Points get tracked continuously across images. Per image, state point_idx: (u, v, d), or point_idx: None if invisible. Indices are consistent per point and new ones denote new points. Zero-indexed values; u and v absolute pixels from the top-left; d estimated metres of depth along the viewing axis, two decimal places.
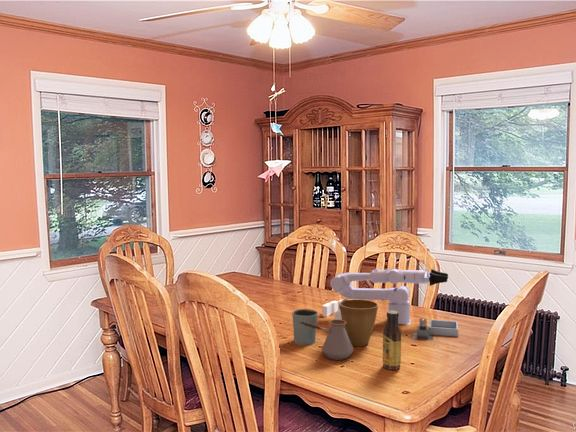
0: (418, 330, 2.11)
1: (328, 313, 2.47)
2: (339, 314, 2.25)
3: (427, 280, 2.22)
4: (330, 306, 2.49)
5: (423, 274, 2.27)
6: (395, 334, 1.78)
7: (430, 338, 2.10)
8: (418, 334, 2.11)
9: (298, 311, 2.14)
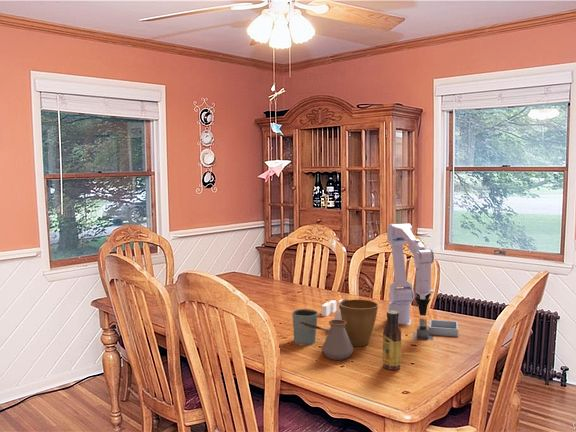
0: (418, 330, 2.11)
1: (327, 313, 2.47)
2: (339, 314, 2.25)
3: (421, 297, 2.05)
4: (329, 306, 2.49)
5: (427, 290, 2.09)
6: (395, 334, 1.78)
7: (430, 338, 2.10)
8: (418, 334, 2.11)
9: (298, 311, 2.14)
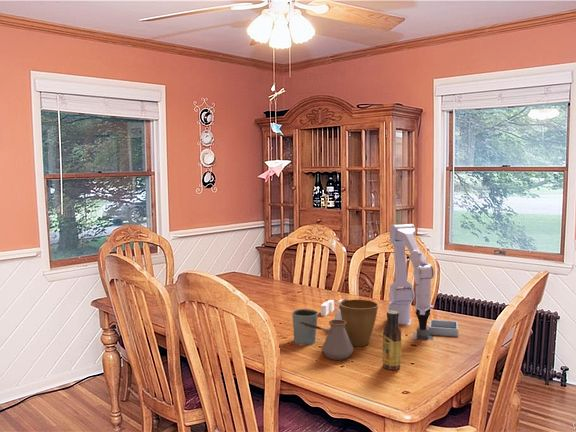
0: (418, 330, 2.11)
1: (326, 312, 2.48)
2: (339, 314, 2.25)
3: (421, 313, 2.05)
4: (328, 305, 2.50)
5: (426, 305, 2.09)
6: (395, 334, 1.78)
7: (430, 338, 2.10)
8: (418, 334, 2.11)
9: (298, 311, 2.14)
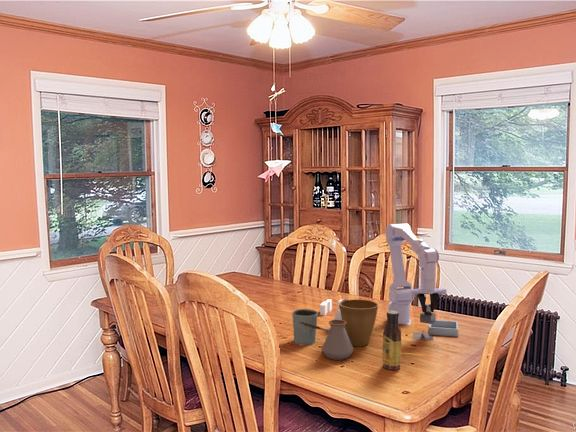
0: (421, 315, 2.13)
1: (325, 312, 2.49)
2: (339, 314, 2.25)
3: (410, 293, 2.13)
4: (326, 305, 2.51)
5: (423, 288, 2.11)
6: (395, 334, 1.78)
7: (430, 338, 2.10)
8: (421, 319, 2.13)
9: (298, 311, 2.14)
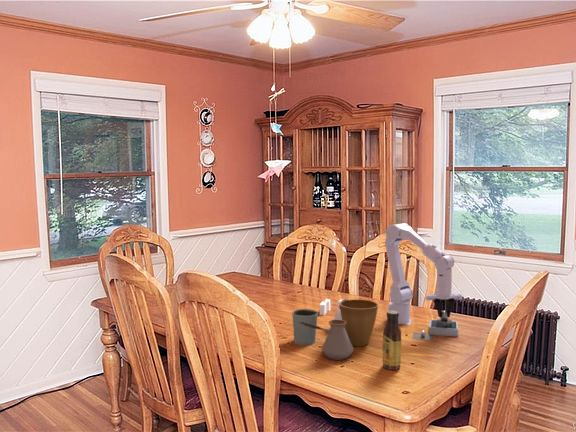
0: (437, 321, 2.18)
1: (325, 311, 2.49)
2: (339, 314, 2.25)
3: (426, 298, 2.18)
4: (325, 304, 2.52)
5: (439, 294, 2.16)
6: (395, 334, 1.78)
7: (430, 338, 2.10)
8: (437, 325, 2.18)
9: (298, 311, 2.14)
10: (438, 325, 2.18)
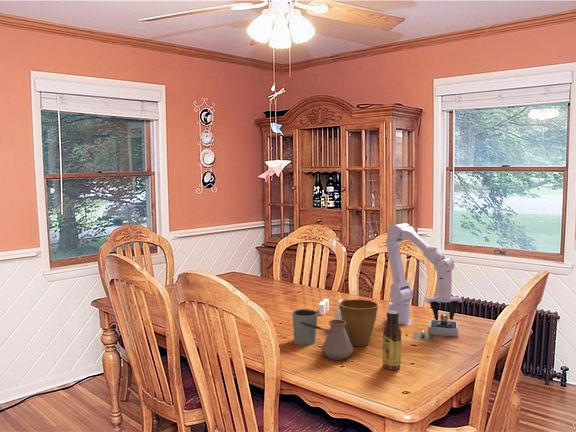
0: (437, 325, 2.18)
1: (324, 311, 2.50)
2: (339, 314, 2.25)
3: (426, 301, 2.18)
4: None
5: (439, 297, 2.16)
6: (395, 334, 1.78)
7: (430, 338, 2.10)
8: None
9: (298, 311, 2.14)
10: None
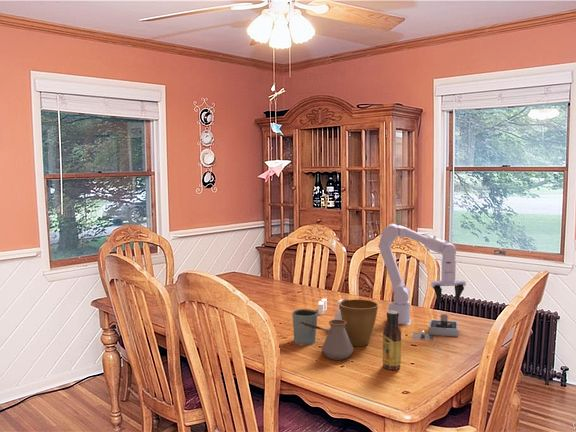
0: (437, 325, 2.18)
1: (323, 311, 2.50)
2: (339, 314, 2.25)
3: (431, 284, 2.27)
4: (323, 304, 2.53)
5: (444, 280, 2.25)
6: (395, 334, 1.78)
7: (430, 338, 2.10)
8: None
9: (298, 311, 2.14)
10: None
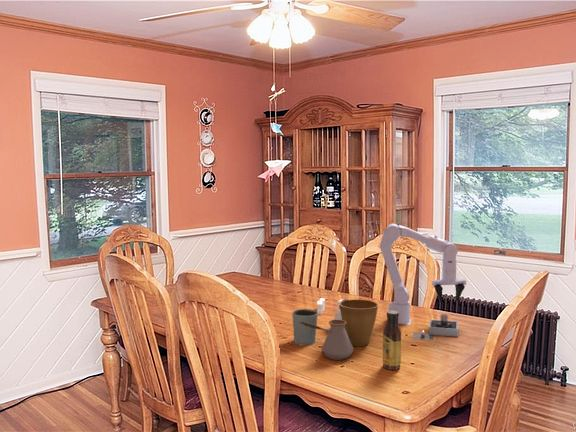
0: (437, 325, 2.18)
1: None
2: (339, 314, 2.25)
3: (432, 283, 2.28)
4: None
5: (444, 279, 2.27)
6: (395, 334, 1.78)
7: (430, 338, 2.10)
8: None
9: (298, 311, 2.14)
10: None
